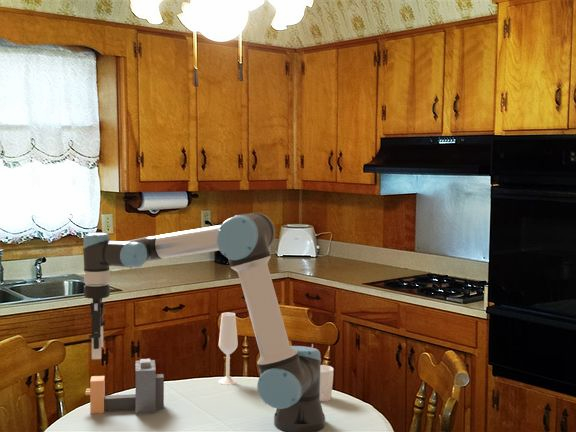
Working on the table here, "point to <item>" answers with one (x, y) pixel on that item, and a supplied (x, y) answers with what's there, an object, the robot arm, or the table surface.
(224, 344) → the champagne flute
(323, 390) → the white cup
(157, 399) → the grey orange-ended bar
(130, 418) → the table surface
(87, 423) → the table surface
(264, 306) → the robot arm
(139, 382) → the grey u-shaped bracket
